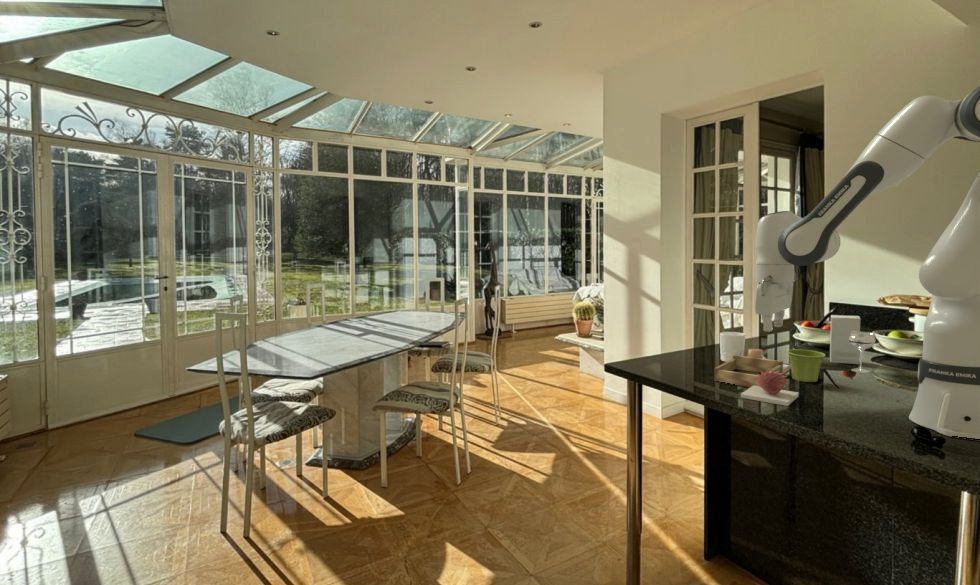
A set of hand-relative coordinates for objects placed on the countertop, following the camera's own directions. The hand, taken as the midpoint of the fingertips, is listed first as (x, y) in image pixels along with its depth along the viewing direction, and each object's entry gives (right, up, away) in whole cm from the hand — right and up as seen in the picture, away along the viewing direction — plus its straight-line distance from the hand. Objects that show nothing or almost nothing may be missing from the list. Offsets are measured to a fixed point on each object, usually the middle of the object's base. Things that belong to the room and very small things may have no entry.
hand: (773, 328), depth 134 cm
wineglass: (+43, -15, +28) cm, 54 cm away
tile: (0, -18, +2) cm, 18 cm away
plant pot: (+18, -17, +16) cm, 29 cm away
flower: (0, -17, +2) cm, 17 cm away
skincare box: (+46, -14, +40) cm, 63 cm away
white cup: (+8, -15, +41) cm, 44 cm away
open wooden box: (+3, -16, +19) cm, 25 cm away
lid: (+15, -15, +32) cm, 38 cm away
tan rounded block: (+12, -14, +33) cm, 38 cm away
